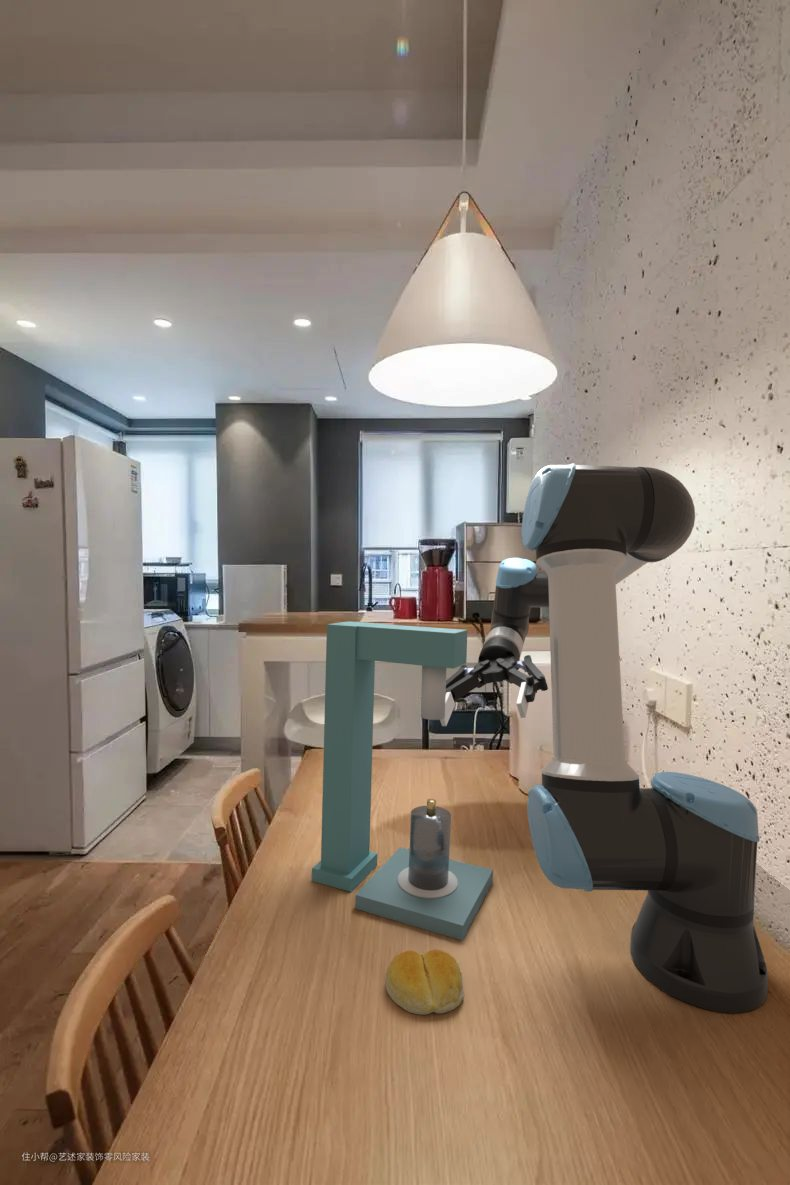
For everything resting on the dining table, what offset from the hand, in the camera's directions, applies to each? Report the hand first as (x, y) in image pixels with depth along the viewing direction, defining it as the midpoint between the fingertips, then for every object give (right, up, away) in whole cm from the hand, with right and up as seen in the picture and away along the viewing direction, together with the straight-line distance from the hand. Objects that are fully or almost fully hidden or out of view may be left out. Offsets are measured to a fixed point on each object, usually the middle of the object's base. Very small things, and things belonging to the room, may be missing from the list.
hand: (480, 715), depth 94 cm
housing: (-9, -23, -8) cm, 26 cm away
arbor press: (-13, -25, -6) cm, 29 cm away
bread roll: (-10, -26, -27) cm, 39 cm away
